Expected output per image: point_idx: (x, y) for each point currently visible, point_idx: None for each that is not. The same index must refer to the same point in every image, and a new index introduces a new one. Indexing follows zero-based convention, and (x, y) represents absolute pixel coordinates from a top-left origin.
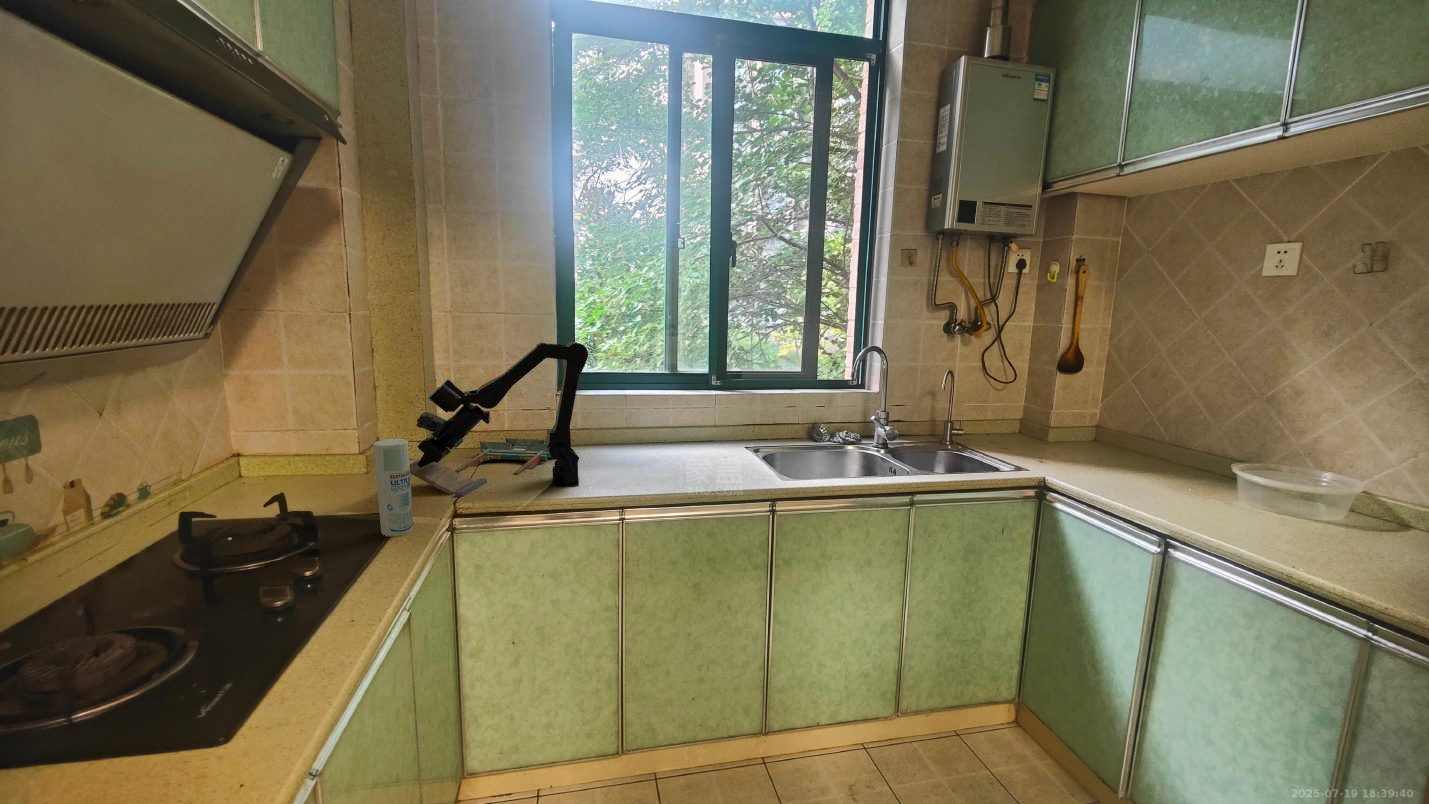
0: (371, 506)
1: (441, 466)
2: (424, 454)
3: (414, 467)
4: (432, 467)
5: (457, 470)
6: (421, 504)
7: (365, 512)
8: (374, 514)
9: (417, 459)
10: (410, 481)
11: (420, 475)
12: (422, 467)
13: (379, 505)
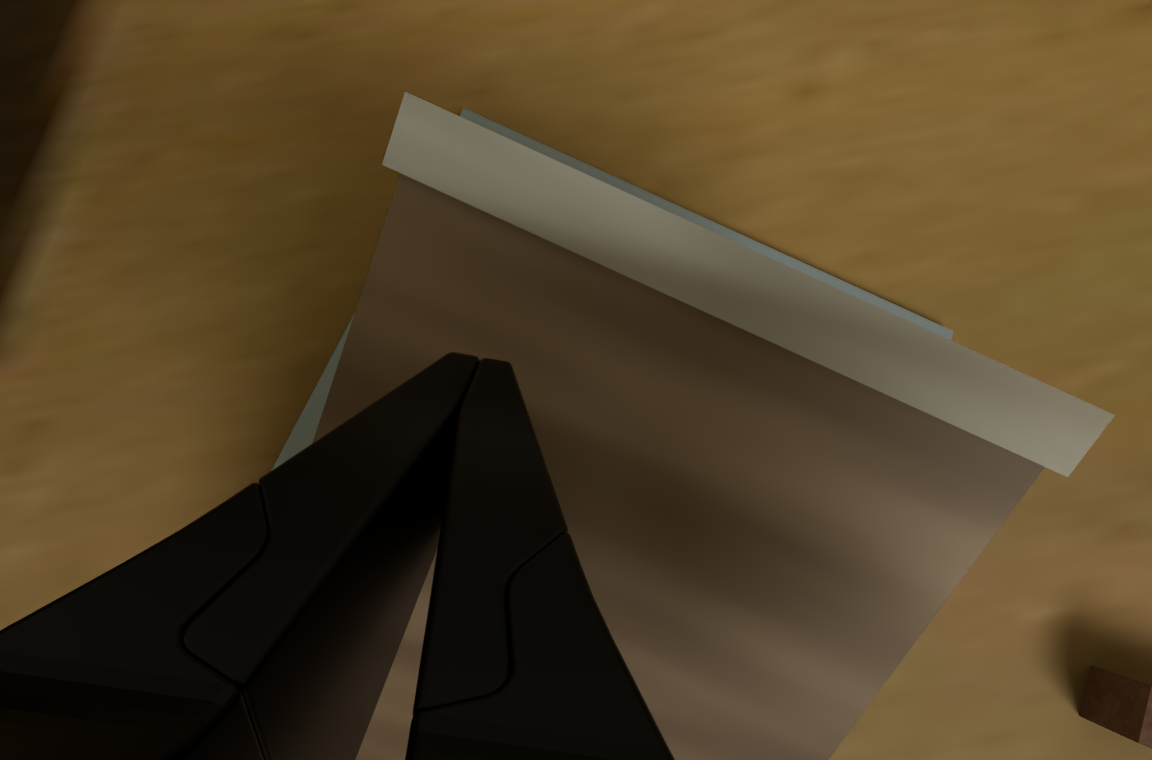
0: (260, 68)
1: (790, 674)
2: (188, 544)
3: (487, 309)
4: (672, 559)
5: (1144, 720)
6: (165, 479)
7: (101, 52)
8: (12, 129)
9: (795, 298)
10: None
11: (319, 435)
12: (568, 424)
13: None
